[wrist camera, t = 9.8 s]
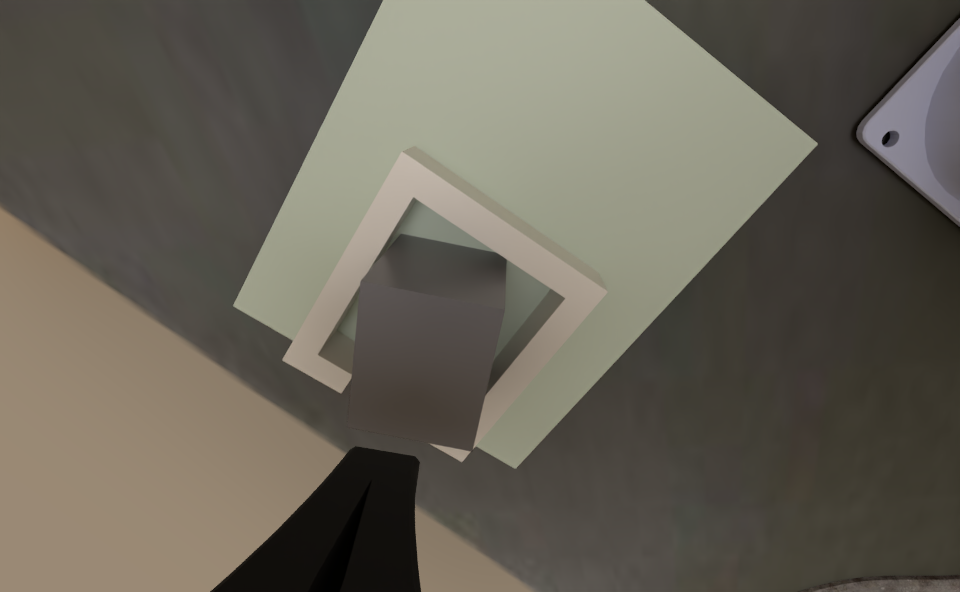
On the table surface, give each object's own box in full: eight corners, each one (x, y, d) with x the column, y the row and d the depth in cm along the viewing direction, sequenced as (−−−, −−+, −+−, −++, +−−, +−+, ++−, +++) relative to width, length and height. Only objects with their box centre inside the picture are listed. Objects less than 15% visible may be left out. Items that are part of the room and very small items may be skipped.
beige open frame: (597, 271, 17) (608, 291, 15) (466, 429, 20) (461, 462, 19) (414, 145, 16) (401, 151, 14) (304, 335, 19) (282, 360, 17)
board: (800, 141, 16) (818, 144, 15) (515, 453, 22) (515, 468, 21) (462, -137, 14) (459, -154, 13) (245, 296, 20) (232, 305, 19)
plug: (506, 254, 17) (504, 309, 13) (476, 391, 20) (465, 480, 15) (401, 233, 17) (360, 281, 13) (383, 373, 20) (343, 457, 15)
